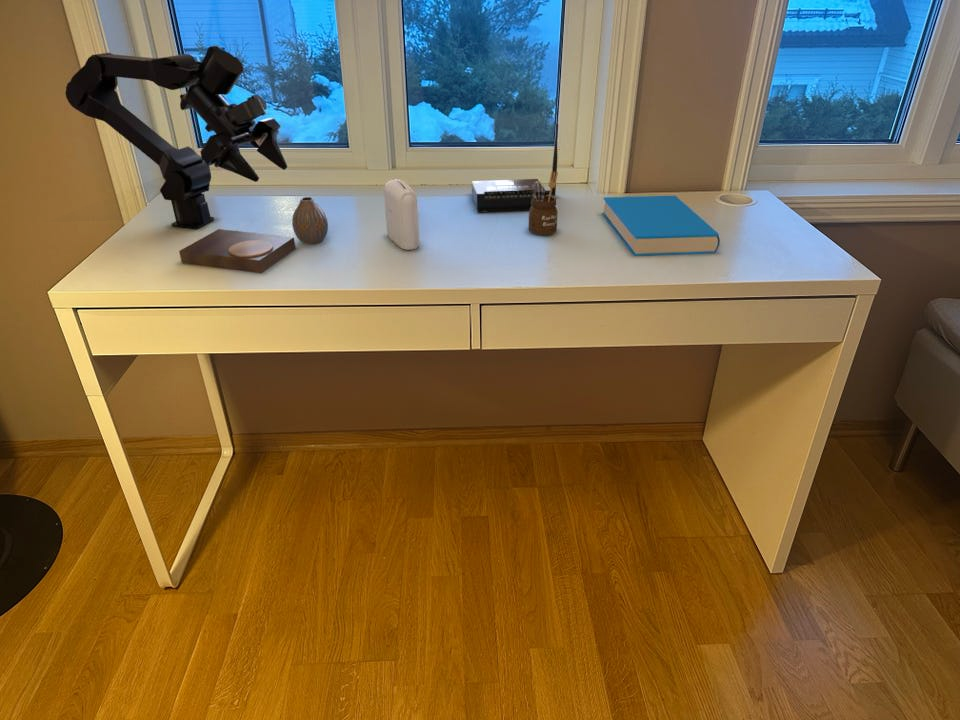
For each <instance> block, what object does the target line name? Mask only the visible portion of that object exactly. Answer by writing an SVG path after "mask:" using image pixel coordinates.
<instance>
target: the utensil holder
mask: <svg viewBox="0 0 960 720" xmlns="http://www.w3.org/2000/svg"><path fill="white" fill-rule="evenodd" d="M558 174H559V173H558V171H557V172H556V177H555V172H554V174H553V171H552V170H551V173H550V176H549V182H548V187H549V190H550V193H549V195H546V196H539V194H538V196H535V197H533V198H532V200H531V205H532V206H531V207H530V210H529V211H528V232H529V233H530V234H533V235H535V236H541V237H547V236H551V235H554V234H555V233H556V232H557V227H558V208H557V199H556V198H555V196H552V195H551V193H552V189H553V188H554V187H555V185H556V186H557V180H558ZM552 175H553V179H552ZM554 177H555V181H554ZM538 182H539V183H540V184H541V185H542V186H543V187H545V186H544V183H543V182H541V181H540V180H539V181H537V185H538ZM535 183H536V182H535ZM533 185H534V184H533ZM535 185H536V184H535ZM538 187H539V185H538ZM543 187H542V188H543ZM534 193H535V192H534ZM533 196H534V195H533Z"/></svg>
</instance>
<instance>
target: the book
mask: <svg viewBox="0 0 960 720" xmlns="http://www.w3.org/2000/svg"><path fill="white" fill-rule="evenodd" d="M603 201H604V207H603V212H602V214H601V215H602V216H603V217H604V219H605V220H606V222H607V223H608V224H609V226H610V227H611V228H612V230H614V232H615V233H616V235H617V236H618V237H619V238H620V240H621V241H622V242H623V244H624V245H625V247H626V248H627V249H628V250H629V252H630V253H631V254H632V256H633V257H635V256H636V257H639V256H642V257H643V256H667V255H668V256H669V255H697V254H716V253H717V250H719V247H720V243H721V239H720V237H719V236H720V233H719V232H717V230H715V229H714V228H713V227H712V226H711V225H710V224H708V222H707V221H705V220H704V219H703V218H702V217H700V216H699V214H697V213H696V212H695V211H693V210H692V208H690V207H689V206H688V205H687V204H686V203H685V202H684V201H682V200H681V199H680V198H679V197H678V196H677V195H643V196H641V195H639V196H605V197H603Z"/></svg>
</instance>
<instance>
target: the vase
mask: <svg viewBox="0 0 960 720" xmlns="http://www.w3.org/2000/svg"><path fill="white" fill-rule="evenodd" d="M291 219H292V220H291V224H292V229H293V233H294V234H295V237H296V238H297V239H298V240H299V241H300V242H301V243H303V244H304V245H317V244H320V243H322V242H323V241H324V239H326V236H327V235H328V232H329V231H328V229H329V223H328V218H327V215H326V213H325V211H324V209H322V208H321V206H319V204H317V203H316V201H315V199H314V197H311V196H305V197H301V198H300V200H299V202H298V205H297V207H296V208H295V210H294V211H293V214H292V218H291Z"/></svg>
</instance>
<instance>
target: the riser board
mask: <svg viewBox="0 0 960 720" xmlns="http://www.w3.org/2000/svg"><path fill="white" fill-rule="evenodd" d="M296 248H297V247H296V241H295V237H294V236H287V235H286V236H285V235H276V234H268V233H259V232H250V231H249V232H248V231H241V230H240V231H239V230H230V229H222V228H218V229H216V230H214V231H212V232H211V233H209V234H207V235H205V236H203V237H202V238H200V239H198V240H196V241H195V242H193V243H190V244H189V245H187V246H186V247H184V248H181V249H180V250H179V251H178V253H179V257H180V261H181V264H183V265H193V266H201V267H208V268H215V269H216V268H217V269H224V270H232V271H241V272H247V273H248V272H250V273H256V274H258V273H259V274H262V273H264V272H265V271H267V270H268V269H270V268H272V267H273V266H274V265H276V264H277V263H278V262H280V261H282V259H284V258H285V257H286V256H288V255H289V254H291V253H292V252H294V251H295V250H296Z"/></svg>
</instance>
